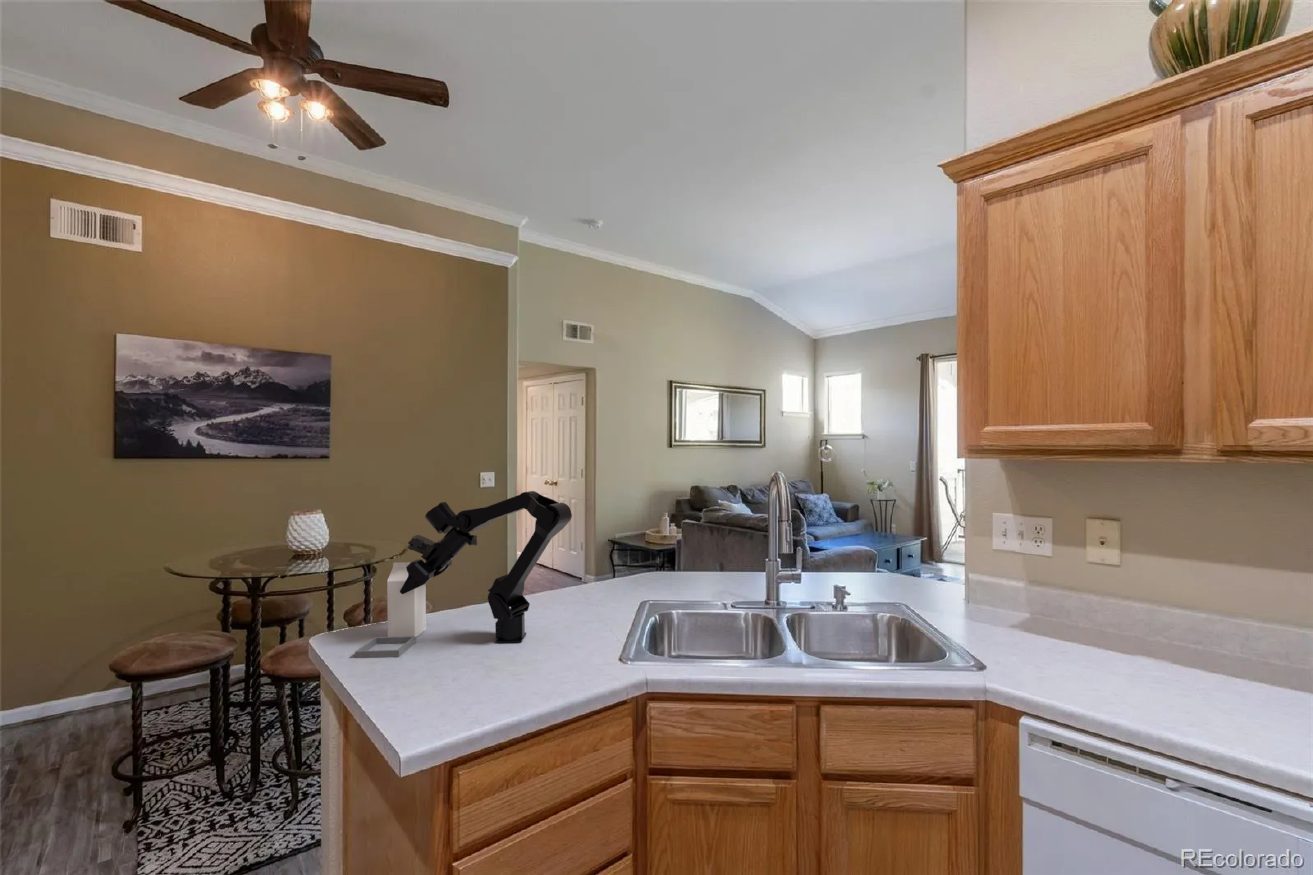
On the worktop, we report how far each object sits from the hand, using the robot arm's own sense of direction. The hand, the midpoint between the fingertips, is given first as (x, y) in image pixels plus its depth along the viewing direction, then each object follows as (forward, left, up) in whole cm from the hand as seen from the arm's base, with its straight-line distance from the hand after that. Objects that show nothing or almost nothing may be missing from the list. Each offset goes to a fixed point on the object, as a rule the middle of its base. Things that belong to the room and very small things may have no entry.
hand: (408, 588), depth 153 cm
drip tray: (+1, +12, -12) cm, 17 cm away
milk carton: (0, +1, -12) cm, 12 cm away
